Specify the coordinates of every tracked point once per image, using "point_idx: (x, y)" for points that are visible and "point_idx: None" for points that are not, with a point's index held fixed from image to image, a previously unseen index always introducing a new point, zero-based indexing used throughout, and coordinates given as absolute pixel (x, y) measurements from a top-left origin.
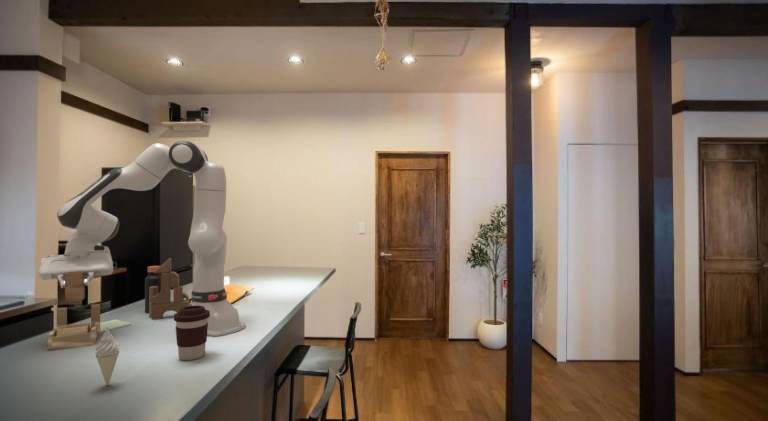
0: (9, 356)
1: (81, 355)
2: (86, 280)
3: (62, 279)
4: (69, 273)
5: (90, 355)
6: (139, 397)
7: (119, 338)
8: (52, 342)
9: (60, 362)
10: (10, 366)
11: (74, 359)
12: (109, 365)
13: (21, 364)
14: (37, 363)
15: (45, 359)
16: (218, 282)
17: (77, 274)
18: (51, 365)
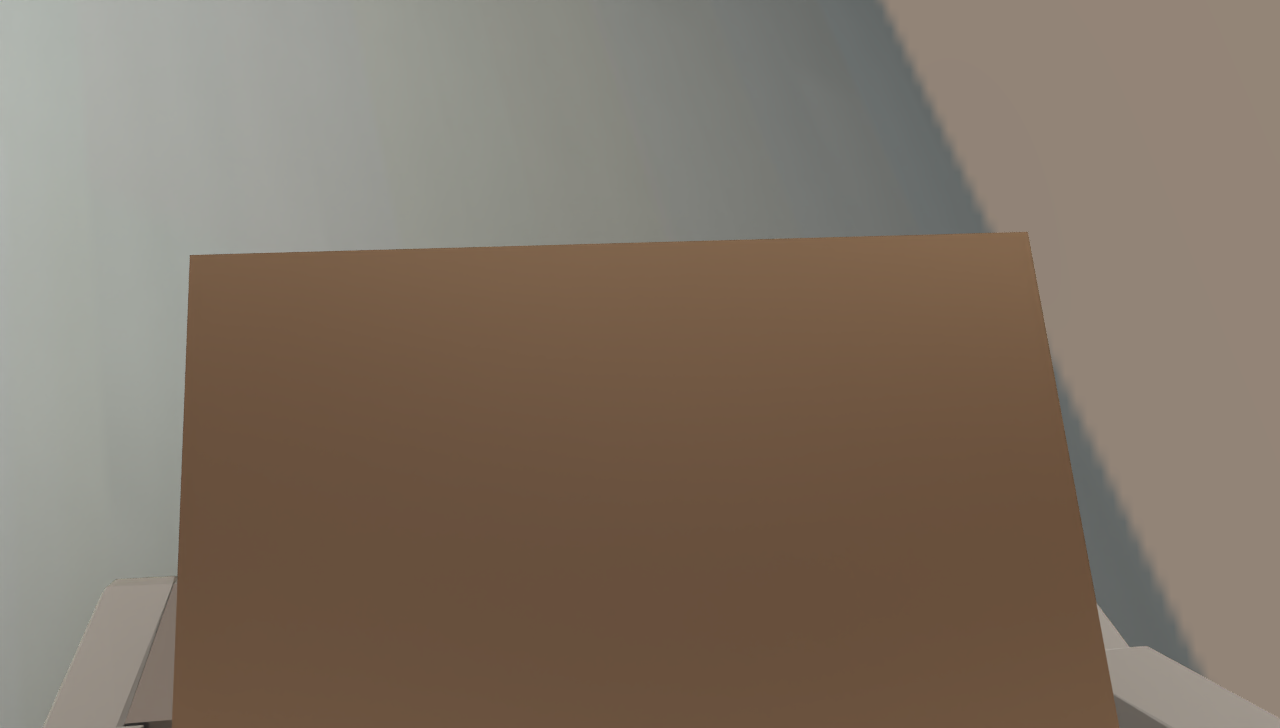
0: (1090, 488)
1: (381, 196)
2: (152, 651)
3: (1133, 707)
4: (954, 661)
5: (292, 155)
6: None
7: (31, 724)
8: None
9: (526, 70)
10: (927, 154)
11: (421, 100)
12: None
13: (856, 168)
14: (724, 133)
15: (693, 223)
16: None
17: (428, 260)
18: (581, 22)
